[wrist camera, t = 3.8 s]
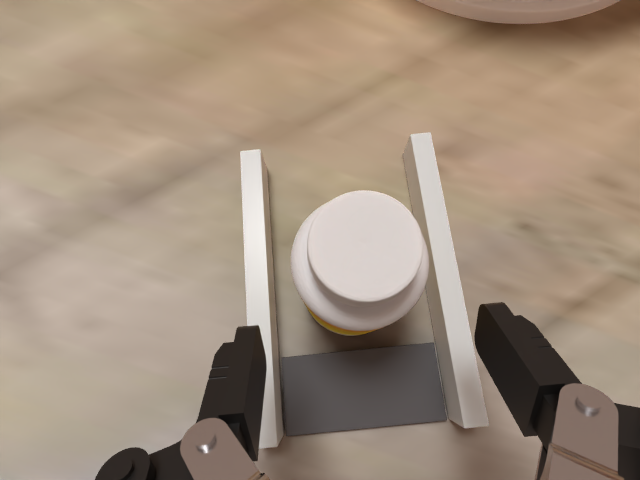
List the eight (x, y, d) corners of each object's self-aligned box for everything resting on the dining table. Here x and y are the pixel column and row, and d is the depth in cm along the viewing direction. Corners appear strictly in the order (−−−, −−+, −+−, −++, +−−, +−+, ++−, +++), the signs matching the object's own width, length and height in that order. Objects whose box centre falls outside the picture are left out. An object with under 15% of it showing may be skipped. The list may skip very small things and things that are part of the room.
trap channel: (470, 416, 20) (489, 425, 18) (261, 436, 20) (252, 449, 18) (420, 153, 25) (430, 132, 22) (249, 170, 25) (240, 151, 22)
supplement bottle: (374, 352, 21) (411, 360, 11) (287, 310, 22) (252, 283, 12) (410, 266, 23) (472, 205, 13) (327, 229, 23) (325, 144, 14)
